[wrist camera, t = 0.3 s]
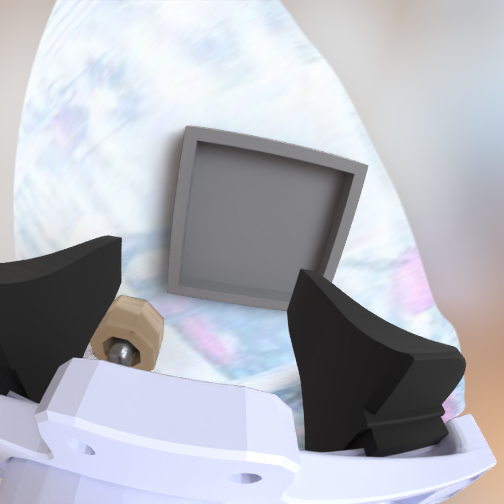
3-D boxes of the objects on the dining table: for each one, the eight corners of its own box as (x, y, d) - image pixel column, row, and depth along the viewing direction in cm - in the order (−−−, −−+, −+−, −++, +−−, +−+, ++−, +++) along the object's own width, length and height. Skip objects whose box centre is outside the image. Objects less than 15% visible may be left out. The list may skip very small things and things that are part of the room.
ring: (163, 349, 26) (154, 381, 22) (109, 337, 25) (96, 366, 21) (164, 303, 23) (153, 334, 20) (105, 291, 23) (87, 319, 19)
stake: (144, 333, 25) (127, 378, 20) (125, 329, 24) (106, 373, 19) (143, 314, 24) (125, 359, 19) (124, 310, 24) (103, 354, 18)
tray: (314, 300, 24) (319, 314, 22) (171, 278, 22) (166, 292, 21) (357, 161, 19) (368, 165, 17) (191, 125, 18) (186, 125, 16)
